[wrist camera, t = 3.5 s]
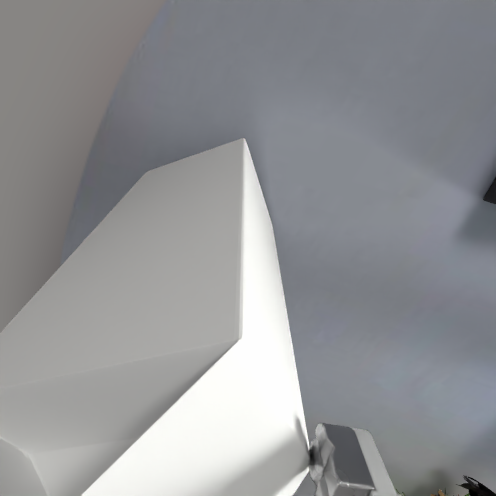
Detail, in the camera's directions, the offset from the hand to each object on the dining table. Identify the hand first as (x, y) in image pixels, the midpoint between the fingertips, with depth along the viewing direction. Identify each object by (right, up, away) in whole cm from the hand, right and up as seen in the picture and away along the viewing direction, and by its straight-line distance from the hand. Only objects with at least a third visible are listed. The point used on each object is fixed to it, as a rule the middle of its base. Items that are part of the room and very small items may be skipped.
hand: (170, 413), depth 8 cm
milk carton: (0, +9, +11) cm, 14 cm away
